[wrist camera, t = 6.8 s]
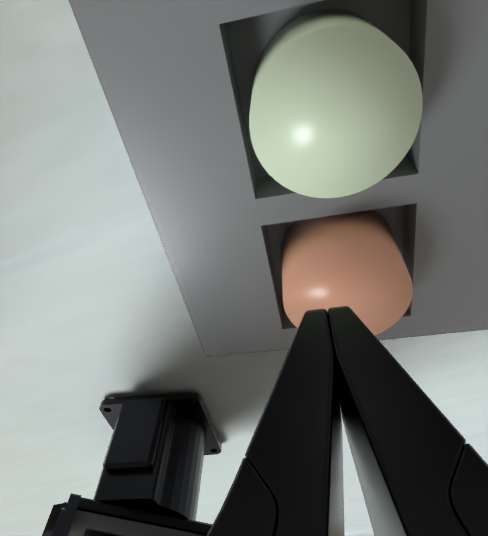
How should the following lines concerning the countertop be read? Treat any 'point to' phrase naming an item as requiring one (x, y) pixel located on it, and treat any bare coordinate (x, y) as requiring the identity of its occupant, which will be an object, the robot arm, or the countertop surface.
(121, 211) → the countertop surface
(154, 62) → the panel
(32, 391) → the countertop surface
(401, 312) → the terracotta button
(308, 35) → the sage button
